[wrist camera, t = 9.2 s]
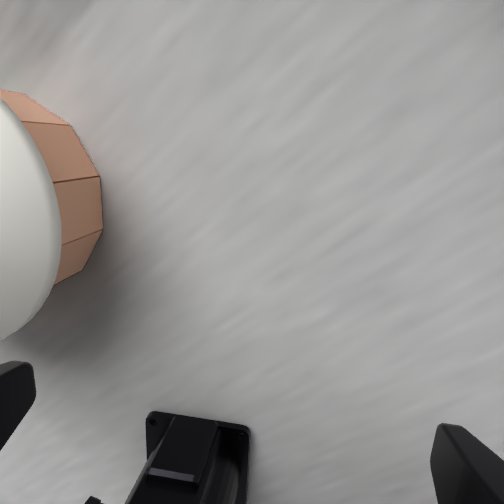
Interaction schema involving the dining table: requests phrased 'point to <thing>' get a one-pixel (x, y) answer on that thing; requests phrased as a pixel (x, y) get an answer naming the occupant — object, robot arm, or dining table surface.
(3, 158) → the lid
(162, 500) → the robot arm
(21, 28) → the dining table surface
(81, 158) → the faceted tan prism
